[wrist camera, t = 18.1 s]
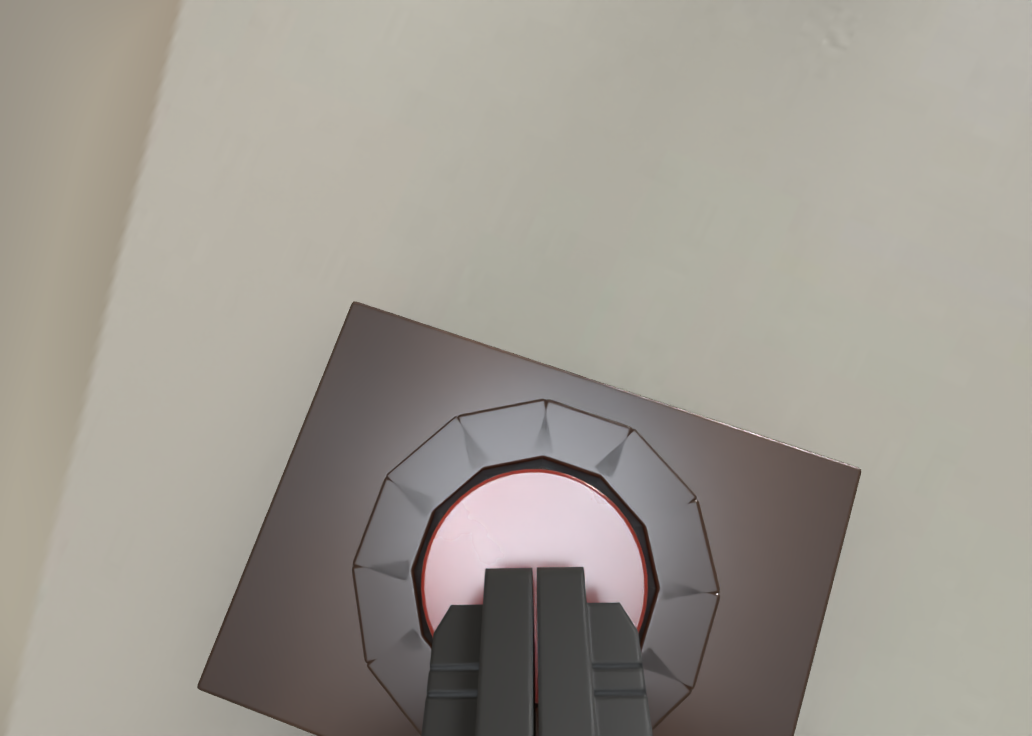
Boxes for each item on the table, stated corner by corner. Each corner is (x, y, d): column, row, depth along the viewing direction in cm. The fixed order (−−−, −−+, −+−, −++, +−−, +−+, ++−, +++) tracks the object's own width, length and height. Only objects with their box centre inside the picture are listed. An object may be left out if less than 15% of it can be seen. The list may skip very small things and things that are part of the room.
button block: (233, 673, 19) (155, 705, 15) (371, 324, 21) (332, 273, 17) (726, 863, 18) (777, 950, 14) (828, 477, 20) (899, 459, 16)
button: (403, 645, 16) (386, 656, 14) (473, 450, 17) (465, 438, 15) (600, 718, 15) (608, 739, 14) (662, 514, 16) (676, 510, 14)
